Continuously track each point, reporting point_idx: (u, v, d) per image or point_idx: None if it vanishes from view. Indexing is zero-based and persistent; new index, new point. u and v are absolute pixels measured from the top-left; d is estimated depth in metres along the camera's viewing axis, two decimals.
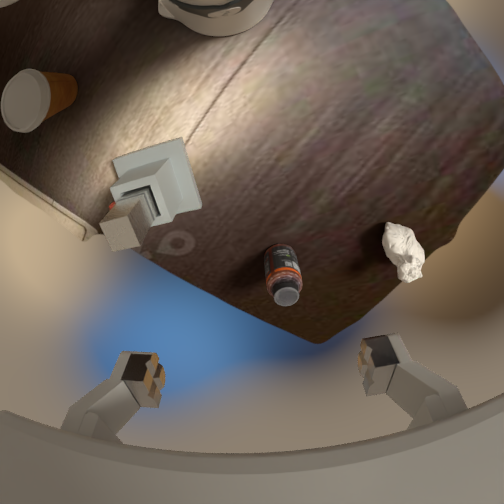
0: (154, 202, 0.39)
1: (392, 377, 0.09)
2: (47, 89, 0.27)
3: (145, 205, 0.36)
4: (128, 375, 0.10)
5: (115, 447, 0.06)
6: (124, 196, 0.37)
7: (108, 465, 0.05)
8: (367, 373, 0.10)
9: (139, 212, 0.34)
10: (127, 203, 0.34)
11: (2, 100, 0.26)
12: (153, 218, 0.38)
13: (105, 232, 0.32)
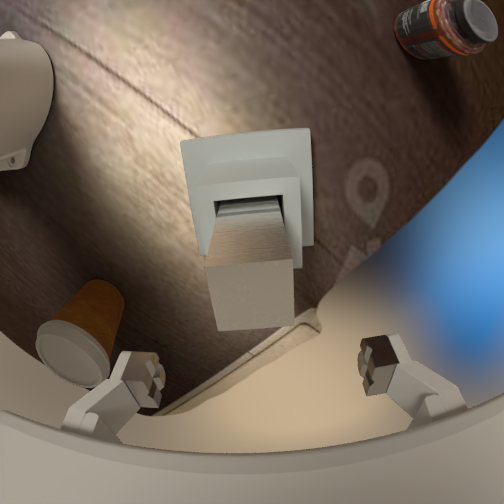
0: (253, 200, 0.21)
1: (392, 377, 0.09)
2: (56, 324, 0.25)
3: (237, 218, 0.18)
4: (128, 375, 0.10)
5: (115, 447, 0.06)
6: None
7: (108, 465, 0.05)
8: (367, 373, 0.10)
9: (233, 235, 0.16)
10: None
11: (68, 380, 0.28)
12: (275, 210, 0.19)
13: (242, 325, 0.15)
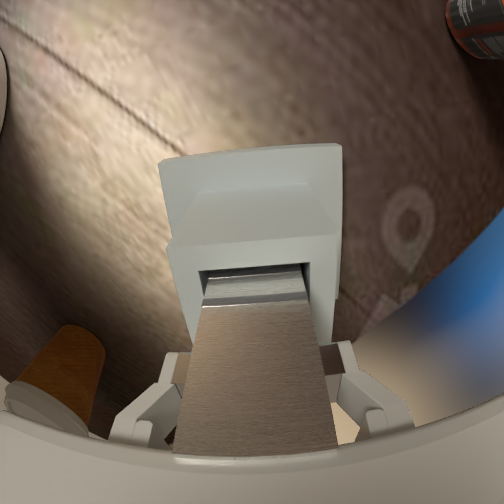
0: (261, 270, 0.13)
1: (340, 386, 0.09)
2: (21, 388, 0.17)
3: (235, 316, 0.11)
4: (179, 377, 0.09)
5: (115, 447, 0.06)
6: None
7: (108, 465, 0.05)
8: None
9: (226, 365, 0.09)
10: None
11: None
12: (299, 297, 0.11)
13: None
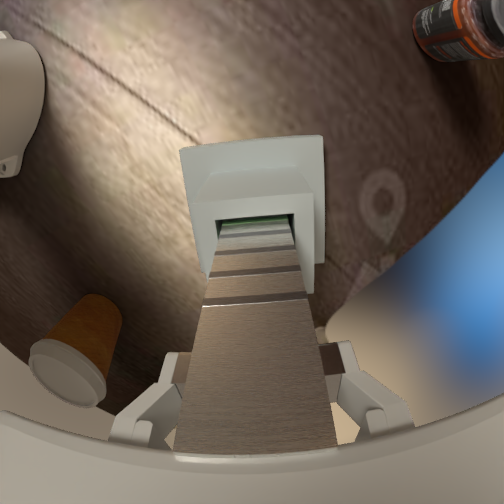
0: (262, 269, 0.13)
1: (340, 386, 0.09)
2: (48, 343, 0.23)
3: (235, 315, 0.11)
4: (179, 378, 0.09)
5: (115, 447, 0.06)
6: None
7: (108, 465, 0.05)
8: None
9: (227, 363, 0.09)
10: None
11: (63, 399, 0.25)
12: (299, 296, 0.11)
13: None
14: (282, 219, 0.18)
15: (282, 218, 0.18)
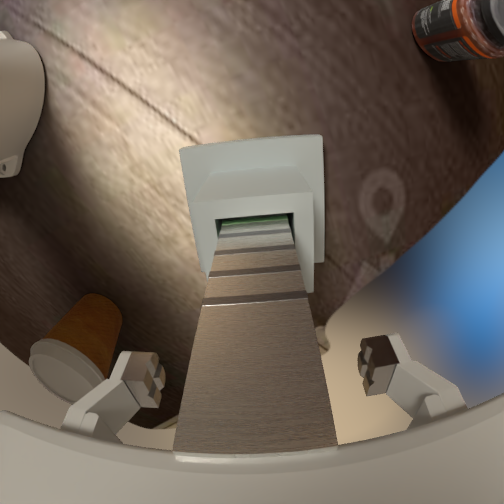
0: (261, 269, 0.13)
1: (392, 377, 0.09)
2: (48, 343, 0.23)
3: (235, 315, 0.11)
4: (128, 375, 0.10)
5: (115, 447, 0.06)
6: None
7: (108, 465, 0.05)
8: (367, 373, 0.10)
9: (226, 363, 0.09)
10: None
11: (63, 399, 0.25)
12: (299, 296, 0.11)
13: None
14: (282, 218, 0.18)
15: (281, 218, 0.18)
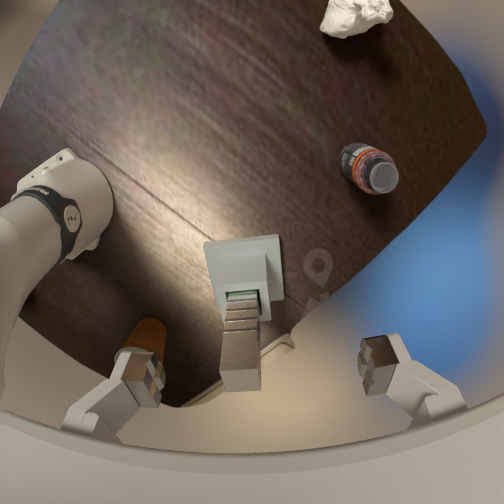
0: (243, 318, 0.37)
1: (392, 377, 0.09)
2: (131, 349, 0.46)
3: (234, 335, 0.34)
4: (128, 375, 0.10)
5: (115, 447, 0.06)
6: None
7: (108, 465, 0.05)
8: (367, 373, 0.10)
9: (231, 349, 0.32)
10: None
11: None
12: (254, 329, 0.35)
13: (237, 390, 0.31)
14: (254, 291, 0.42)
15: (254, 290, 0.42)
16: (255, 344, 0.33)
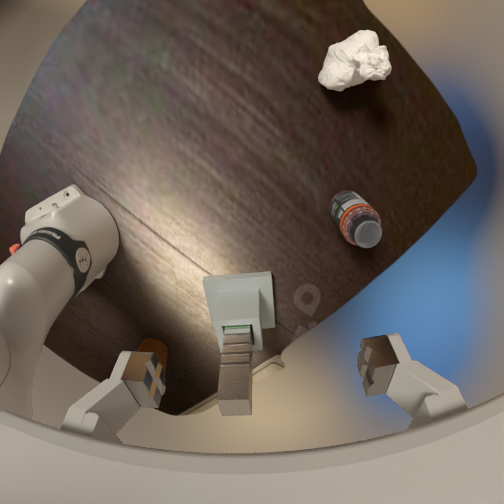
0: (237, 352, 0.41)
1: (392, 377, 0.09)
2: None
3: (229, 368, 0.39)
4: (128, 375, 0.10)
5: (115, 447, 0.06)
6: None
7: (108, 465, 0.05)
8: (367, 373, 0.10)
9: (227, 381, 0.37)
10: None
11: None
12: (247, 363, 0.39)
13: (231, 414, 0.36)
14: (247, 326, 0.46)
15: (247, 325, 0.47)
16: (247, 377, 0.37)
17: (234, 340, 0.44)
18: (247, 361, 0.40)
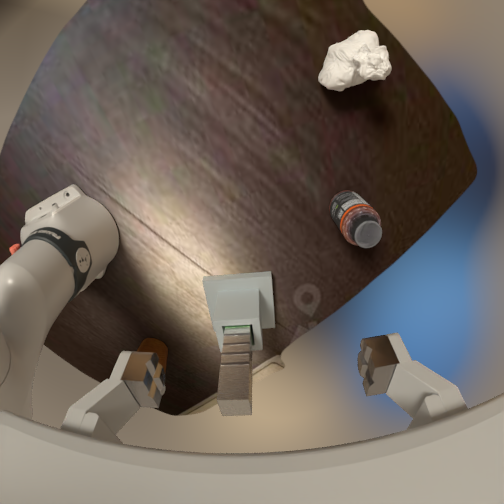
0: (237, 352, 0.41)
1: (392, 377, 0.09)
2: None
3: (229, 368, 0.39)
4: (128, 375, 0.10)
5: (115, 447, 0.06)
6: None
7: (108, 465, 0.05)
8: (367, 373, 0.10)
9: (227, 381, 0.37)
10: None
11: None
12: (247, 363, 0.39)
13: (231, 414, 0.36)
14: (247, 326, 0.46)
15: (247, 325, 0.47)
16: (247, 377, 0.37)
17: (234, 340, 0.44)
18: (247, 361, 0.40)
